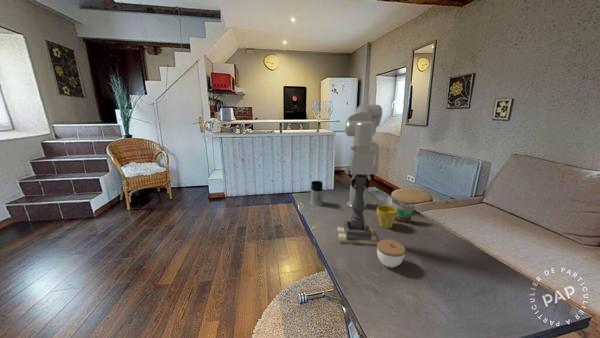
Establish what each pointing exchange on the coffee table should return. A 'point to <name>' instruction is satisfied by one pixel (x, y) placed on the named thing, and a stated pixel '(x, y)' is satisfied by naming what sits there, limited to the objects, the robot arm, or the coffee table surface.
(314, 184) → the glass holder
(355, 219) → the candle holder
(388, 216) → the plant pot
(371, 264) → the coffee table surface
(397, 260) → the lidded jar
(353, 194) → the robot arm
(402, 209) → the food container
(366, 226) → the socket board
